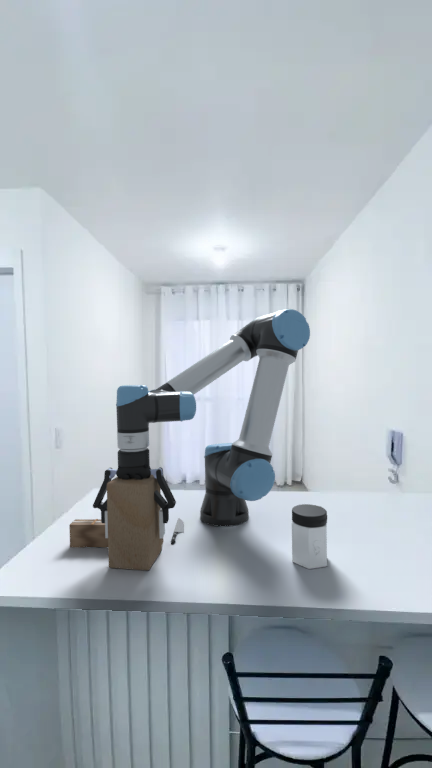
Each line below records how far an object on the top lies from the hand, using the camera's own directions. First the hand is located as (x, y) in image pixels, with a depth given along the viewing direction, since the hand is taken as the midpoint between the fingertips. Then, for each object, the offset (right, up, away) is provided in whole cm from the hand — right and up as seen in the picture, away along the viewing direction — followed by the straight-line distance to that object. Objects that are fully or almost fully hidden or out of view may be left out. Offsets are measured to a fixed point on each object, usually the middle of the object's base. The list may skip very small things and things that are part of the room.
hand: (135, 536), depth 88 cm
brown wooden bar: (-7, -5, +8) cm, 11 cm away
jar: (+42, -5, -2) cm, 42 cm away
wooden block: (0, -6, 0) cm, 6 cm away
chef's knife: (+9, -6, +17) cm, 20 cm away
